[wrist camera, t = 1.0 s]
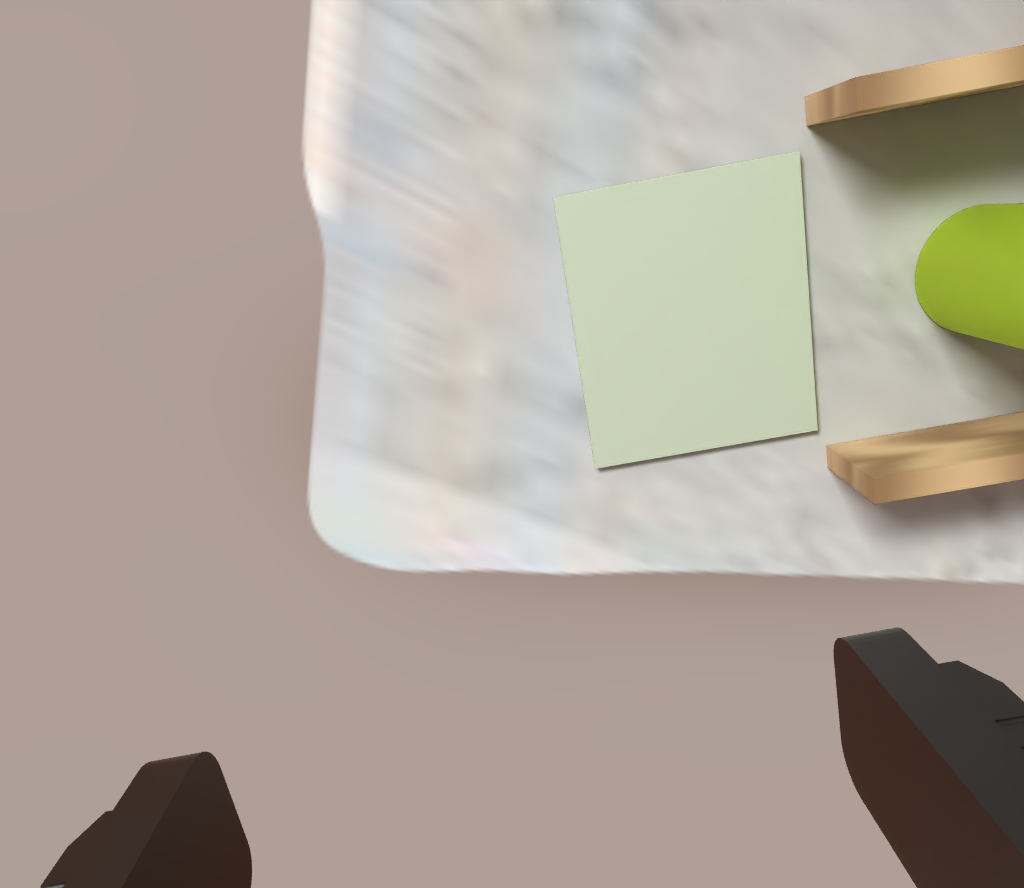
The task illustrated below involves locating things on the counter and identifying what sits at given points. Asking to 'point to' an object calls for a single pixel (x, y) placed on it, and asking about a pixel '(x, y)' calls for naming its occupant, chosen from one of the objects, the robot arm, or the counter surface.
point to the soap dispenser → (976, 273)
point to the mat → (691, 309)
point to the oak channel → (955, 447)
